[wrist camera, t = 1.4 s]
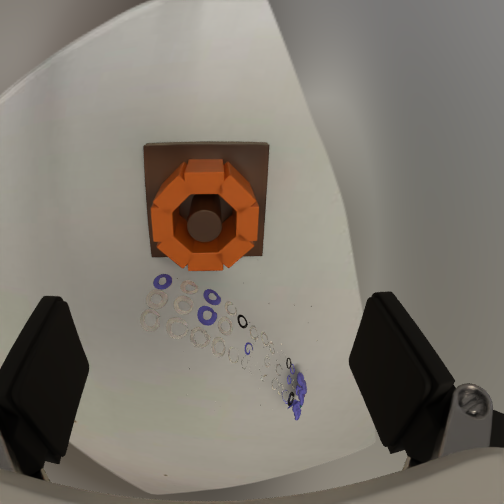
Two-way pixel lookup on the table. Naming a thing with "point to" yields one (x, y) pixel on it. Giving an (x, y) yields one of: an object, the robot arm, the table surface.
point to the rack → (207, 205)
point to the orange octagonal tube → (233, 229)
